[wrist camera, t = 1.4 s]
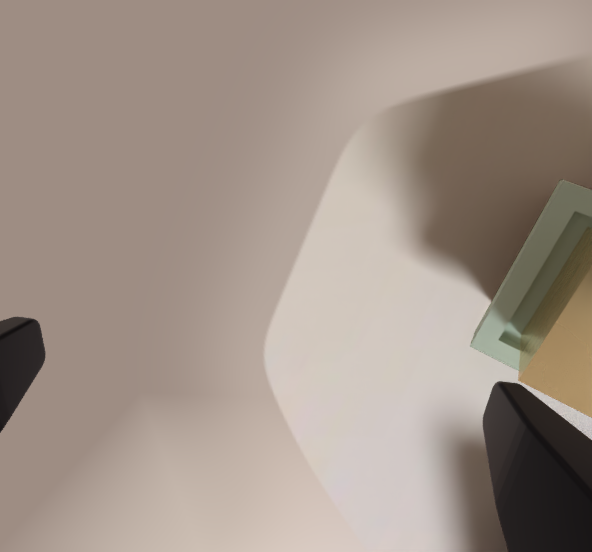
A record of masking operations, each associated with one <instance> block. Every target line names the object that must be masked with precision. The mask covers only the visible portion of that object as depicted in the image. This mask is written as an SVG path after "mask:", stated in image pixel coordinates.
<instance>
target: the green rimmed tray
mask: <svg viewBox="0 0 592 552" xmlns="http://www.w3.org/2000/svg"><path fill="white" fill-rule="evenodd" d="M587 227H590V228H592V190H591V189H588V188H585V187H583V186H580V185H577V184H574V183H572V182H569V181H566V180H563V179H562V181H561V180H560V181H559V183H558V184H557V186H556V188H555V190H554V192H553V193H552V195H551V197H550V199H549V200H548V202H547V204H546V206H545V208H544V209H543V211H542V213H541V215H540V217H539V218H538V220H537V222H536V224H535V225H534V227H533V229H532V231H531V233H530V234H529V236H528V238H527V240H526V241H525V243H524V245H523V247H522V249H521V250H520V252H519V254H518V256H517V258H516V259H515V261H514V263H513V265H512V266H511V268H510V270H509V272H508V274H507V275H506V277H505V279H504V281H503V283H502V284H501V286H500V288H499V290H498V291H497V293H496V295H495V297H494V299H493V300H492V302H491V304H490V306H489V307H488V309H487V311H486V313H485V315H484V316H483V318H482V320H481V322H480V324H479V325H478V327H477V329H476V331H475V333H474V336H473V339H472V341H471V345H470V347H472V348H474V349H476V350H478V351H480V352H482V353H484V354H486V355H488V356H490V357H492V358H494V359H496V360H498V361H500V362H502V363H504V364H506V365H508V366H510V367H512V368H514V369H516V370H518V371H519V359H520V342H521V334H522V332H523V330H524V329H525V327H526V326H527V324H528V322H529V321H530V319H531V317H532V316H533V314H534V313H535V311H536V309H537V308H538V306H539V304H540V303H541V301H542V300H543V298H544V296H545V295H546V293H547V291H548V290H549V288H550V287H551V285H552V283H553V282H554V280H555V278H556V277H557V275H558V274H559V272H560V270H561V269H562V267H563V265H564V264H565V262H566V261H567V259H568V257H569V256H570V254H571V252H572V251H573V249H574V248H575V246H576V244H577V243H578V241H579V239H580V238H581V236H582V235H583V233H584V231H585V230H586V228H587Z"/></svg>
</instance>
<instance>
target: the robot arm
mask: <svg viewBox="0 0 592 552" xmlns="http://www.w3.org/2000/svg"><path fill="white" fill-rule="evenodd" d="M44 361H45V348H44V343H43V338H42V333H41V328H40V324H39V323H38V321H37V320H35V319H31V318H24V317H13V318H9V319H6V320H3V321H0V432H1V431H2V430H3V428H4V427H5V425H6V423H7V422H8V420H9V419H10V417H11V416H12V414H13V413H14V411H15V409H16V408H17V406H18V404H19V403H20V401H21V399H22V398H23V396H24V395H25V393H26V392H27V390H28V388H29V387H30V385H31V383H32V382H33V380H34V379H35V377H36V375H37V374H38V372H39V370H40V369H41V367H42V365H43V363H44ZM483 431H484V437H485V443H486V450H487V456H488V462H489V468H490V475H491V481H492V487H493V493H494V499H495V504H496V508H497V512H498V516H499V520H500V523H501V527H502V530H503V534H504V538H505V541H506V545H507V548H508V552H592V440H591V439H589V438H588V437H587V436H586V435H584V434H583V433H582V432H581V431H579V430H578V429H577V428H575V427H574V426H573V425H572V424H570V423H569V422H568V421H566V420H565V419H564V418H563V417H561V416H560V415H559V414H558V413H556V412H555V411H554V410H552V409H551V408H550V407H549V406H547V405H546V404H545V403H543V402H542V401H541V400H540V399H538V398H537V397H536V396H535V395H533V394H532V393H531V392H529V391H528V390H527V389H526V388H524V387H523V386H522V385H520V384H517V383H510V382H502V381H499V382H497V383H495V385H494V386H493V388H492V391H491V394H490V397H489V400H488V403H487V406H486V409H485V412H484V415H483Z"/></svg>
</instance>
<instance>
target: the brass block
mask: <svg viewBox="0 0 592 552" xmlns="http://www.w3.org/2000/svg"><path fill="white" fill-rule="evenodd" d="M518 381H520V382H522V383H524V384H526V385H528V386H530V387H532V388H534V389H536V390H538V391H540V392H542V393H544V394H546V395H548V396H550V397H552V398H554V399H556V400H558V401H560V402H562V403H564V404H566V405H568V406H570V407H572V408H574V409H576V410H578V411H580V412H582V413H584V414H586V415H588V416H589V417H591V418H592V228H590V227H587V228H586V230H585V231H584V233H583V235H582V236H581V238H580V239H579V241H578V243H577V244H576V246H575V248H574V249H573V251H572V252H571V254H570V256H569V257H568V259H567V261H566V262H565V264H564V265H563V267H562V269H561V270H560V272H559V274H558V275H557V277H556V278H555V280H554V282H553V283H552V285H551V287H550V288H549V290H548V291H547V293H546V295H545V296H544V298H543V300H542V301H541V303H540V304H539V306H538V308H537V309H536V311H535V313H534V314H533V316H532V317H531V319H530V321H529V322H528V324H527V326H526V327H525V329H524V330H523V332H522V334H521V342H520V359H519V375H518Z"/></svg>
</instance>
